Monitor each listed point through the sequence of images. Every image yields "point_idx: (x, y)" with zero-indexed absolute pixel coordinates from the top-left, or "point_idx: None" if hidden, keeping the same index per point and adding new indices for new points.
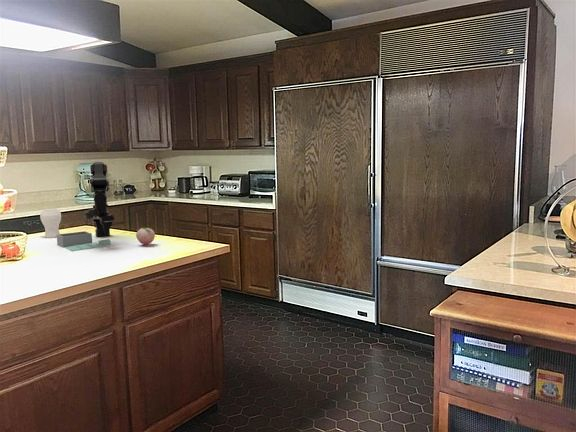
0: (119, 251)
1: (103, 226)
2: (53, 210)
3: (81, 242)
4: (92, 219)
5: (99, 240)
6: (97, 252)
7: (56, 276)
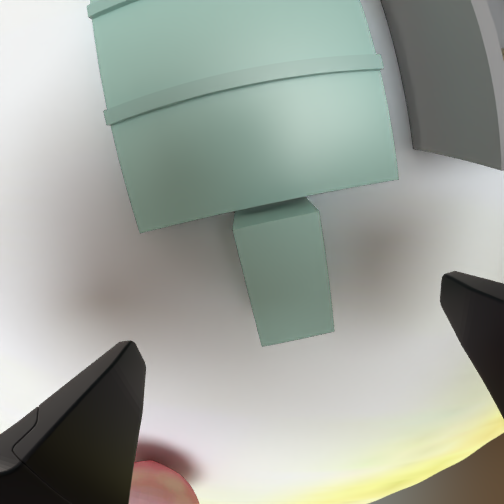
0: (5, 316)
1: (16, 439)
2: None
3: (414, 27)
4: None
5: (319, 227)
6: (4, 163)
7: None
